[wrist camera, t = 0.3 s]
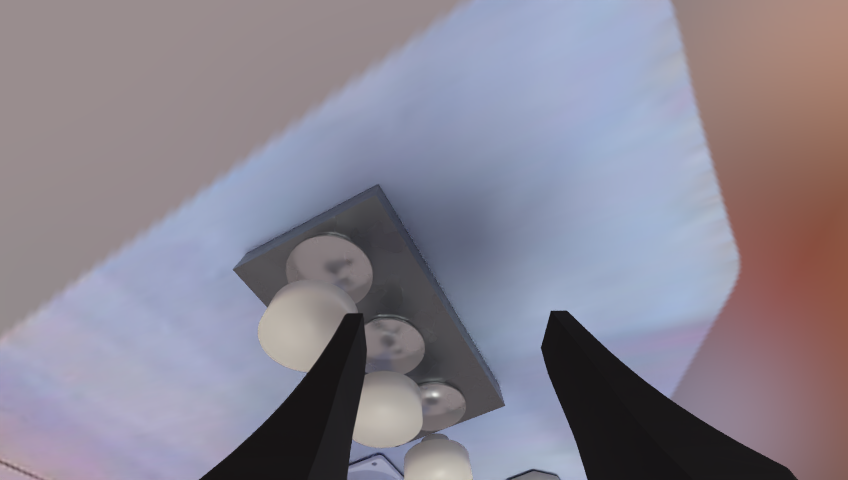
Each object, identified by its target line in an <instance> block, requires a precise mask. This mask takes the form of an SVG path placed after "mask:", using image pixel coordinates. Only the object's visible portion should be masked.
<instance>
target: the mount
mask: <svg viewBox="0 0 848 480" xmlns="http://www.w3.org/2000/svg"><path fill="white" fill-rule="evenodd" d="M233 270H234V271H235V273H236V274H237V275H238V276H239V277H240V278H241V279H242V280H243V281H244V282H245V283H246V285H247V286H248V287H249V288H250V289H251V290H252V291H253V292H254V293H255V294H256V296H257V297H258V298H259V299H260V300H261V301H262V302H263V303H264V304H265V305H266V306H267V308H268V306H269V304H270V303H271V301H272V299H273V297H274V296H275V294H276V293H277V292H278V291H279V290H280V289H281V288H283V287H284V286H286V285H287V284H290V283H292V282H295V281H299V280H307V279H313V280H321V281H325V282H329V283H331V284H334V285H336V286H337V287H339V288H341V289H342V290H344V291H345V292H346V293H347V294H348V295H349V296H350V297H351V298H352V300H353V301H354V303H355V305H356V307H357V310H358V313H363V317H364V326H365V336H366V345H367V357H366V368H365V375H366V374H369V373H372V372H377V371H381V370H390V371H394V372H397V373H400V374H403V375H405V376H407V377H409V378H411V379H412V380H413V381H414V382H415V383H416V384H417V385H418V387H419V388H420V391H421V397H422V417H423V424H422V427H421V430H420V431H419V433H418V434H417V435H416V436H415V437H414V438H413V439H412V440H410V441H408V442H411V441H413V440H416V439H419V438H421V437H424V436H427V435H429V434H432V433H435V432H437V431H440V430H442V429H445V428H448V427H450V426H453V425H456V424H458V423H461V422H464V421H466V420H469V419H471V418H474V417H477V416H479V415H482V414H485V413H487V412H490V411H493V410H495V409H498V408H500V407H503V406H505V404H504V400H503V397H502V394H501V390H500V387H499V384H498V383H497V381H496V379H495V378H494V376H493V374H492V373H491V371H490V369H489V368H488V366H487V364H486V363H485V361H484V359H483V358H482V356H481V354H480V353H479V351H478V349H477V348H476V346H475V344H474V343H473V341H472V339H471V338H470V336H469V334H468V333H467V331H466V329H465V328H464V326H463V324H462V323H461V321H460V319H459V318H458V316H457V314H456V313H455V311H454V309H453V308H452V306H451V304H450V303H449V301H448V299H447V298H446V296H445V295H444V293H443V291H442V290H441V288H440V286H439V285H438V283H437V281H436V280H435V278H434V276H433V275H432V273H431V271H430V270H429V268H428V266H427V265H426V263H425V261H424V260H423V258H422V256H421V255H420V253H419V251H418V250H417V248H416V246H415V245H414V243H413V241H412V240H411V238H410V236H409V235H408V233H407V231H406V230H405V228H404V226H403V225H402V223H401V221H400V220H399V218H398V216H397V215H396V213H395V211H394V210H393V208H392V206H391V205H390V203H389V201H388V200H387V198H386V196H385V195H384V193H383V191H382V190H381V188H380V186H379V185H376V186H374V187H372V188H370V189H368V190H366V191H364V192H362V193H361V194H359V195H357V196H355V197H353V198H351V199H349V200H347V201H345V202H344V203H342V204H340V205H338V206H336V207H334V208H332V209H330V210H328V211H326V212H325V213H323V214H321V215H319V216H317V217H315V218H313V219H311V220H309V221H308V222H306V223H304V224H302V225H300V226H298V227H296V228H294V229H292V230H290V231H289V232H287V233H285V234H283V235H281V236H279V237H277V238H275V239H273V240H272V241H270V242H268V243H266V244H264V245H262V246H260V247H258V248H256V249H254V250H253V251H251V252H249V253H247V254H246V255H245V256H244V257H243V258H242V259H241V261H240V262H239V263H238V264H237V265H236V266H235V268H234V269H233ZM408 442H407V443H408ZM404 444H406V443H404ZM402 445H403V444H402ZM399 446H400V445H399ZM395 447H398V446H395Z"/></svg>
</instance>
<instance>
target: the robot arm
mask: <svg viewBox="0 0 848 480" xmlns="http://www.w3.org/2000/svg"><path fill="white" fill-rule="evenodd" d="M541 350H542V353H543V357H544V361H545V365H546V368H547V371H548V374H549V377H550V380H551V382H552V384H553V387H554V389H555V392H556V394H557V397H558V399H559V401H560V404H561V406H562V408H563V411H564V413H565V416H566V418H567V420H568V423H569V425H570V428H571V430H572V433H573V435H574V438H575V441H576V443H577V447H578V450H579V453H580V456H581V459H582V463H583V466H584V469H585V472H586V476H587V479H588V480H798V479H797V478H796V477H795V476H794V475H793V473H792V472H791V471H790V470H789V469H788V468H787V467H785V466H783V465H781V464H779V463H777V462H775V461H773V460H771V459H769V458H768V457H766V456H764V455H762V454H760V453H758V452H756V451H754V450H752V449H750V448H748V447H746V446H744V445H743V444H741V443H739V442H737V441H736V440H734V439H732V438H731V437H729V436H727V435H725V434H724V433H722V432H720V431H718V430H716V429H715V428H713V427H712V426H710V425H708V424H707V423H705V422H704V421H702V420H700V419H699V418H697V417H696V416H694V415H693V414H691V413H689V412H688V411H686V410H685V409H683V408H682V407H680V406H679V405H677V404H676V403H674V402H673V401H672V400H670V399H669V398H667V397H666V396H664V395H663V394H662V393H660V392H659V391H658V390H656V389H655V388H654V387H652V386H651V385H650V384H648V383H647V382H646V381H644V380H643V379H642V378H641V377H639V376H638V375H637V374H636V373H634V372H633V371H632V370H631V369H630V368H628V367H627V366H626V365H625V364H624V363H622V362H621V361H620V360H619V359H618V358H617V357H616V356H614V355H613V354H612V353H611V352H610V351H609V350H608V349H607V348H606V347H604V346H603V345H602V344H601V343H600V342H599V341H598V340H597V339H596V338H595V337H594V336H593V335H592V334H591V333H590V332H589V331H587V330H586V329H585V328H584V327H583V326H582V325H581V324H580V323H579V322H578V321H577V320H576V319H575V318H574V317H573V316H572V315H571V314H570V313H569V312H568V311H551V313H550V317H549V320H548V324H547V328H546V331H545V335H544V339H543V342H542V346H541ZM366 357H367V345H366V336H365V326H364V317H363V313H347V314H346V315H344V317H343V319H342V321H341V323H340V325H339V326H338V328H337V330H336V332H335V333H334V335H333V337H332V338H331V340H330V341H329V343H328V345H327V346H326V348H325V349H324V351H323V352H322V354H321V355H320V357H319V358H318V360H317V361H316V362H315V364H314V365H313V366H312V368H311V369H310V370H309V372H308V373H307V374H306V376H305V377H304V378H303V380H302V381H301V382H300V383H299V385H298V386H297V387H296V388H295V390H294V391H293V392H292V393H291V394H290V395H289V397H288V398H287V399H286V400H285V401H284V402H283V403H282V404H281V405H280V407H279V408H278V409H277V410H276V411H275V412H274V413H273V414H272V415H271V416H270V417H269V418H268V419H267V420H266V421H265V422H264V423H263V424H262V425H261V426H260V427H259V428H258V429H257V430H256V431H255V432H254V433H253V434H252V435H251V436H250V437H248V438H247V439H246V440H245V441H244V442H243V443H242V444H241V445H240V446H239V447H238V448H237V449H235V450H234V451H233V452H232V453H231V454H230V455H229V456H227V457H226V458H225V459H224V460H223V461H221V462H220V463H219V464H218V465H216V466H215V467H214V468H213V469H212V470H210V471H209V472H208V473H207V474H205V475H204V476H203V477H202V478H201V479H199V480H404V477H403V476H402V475H401V474H400V473H399V472H398V471H397V470H396V469H395V468H394V467H393V466H392V465H391V464H390V463H389V462H388V461H387V460H386V459H385V458H384V457H383V456H382V455H377V456H374V457H371V458H369V459H366V460H363V461H361V462H358V463H356V464H353V465H350V466H349V458H350V449H351V443H352V437H353V432H354V427H355V422H356V417H357V412H358V407H359V402H360V397H361V393H362V388H363V383H364V377H365V368H366Z"/></svg>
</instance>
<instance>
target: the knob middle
mask: <svg viewBox="0 0 848 480" xmlns="http://www.w3.org/2000/svg"><path fill="white" fill-rule="evenodd" d="M422 424H423V417H422V397H421V391H420V388H419V387H418V385H417V384H416V383H415V382H414V381H413V380H412V379H411V378H409V377H407V376H405V375H403V374H400V373H397V372H394V371H390V370H381V371H377V372H372V373H369V374H366V375H365V377H364V383H363V388H362V393H361V397H360V402H359V407H358V412H357V417H356V422H355V427H354V432H353V437H352V439H353V440H354V441H356V442H358V443H360V444H362V445H365V446H369V447H374V448H390V447H395V446H399V445H402V444H404V443H407V442H408V441H410V440H412V439H413V438H414V437H415V436H416V435H417V434H418V433H419V431H420V430H421V427H422Z"/></svg>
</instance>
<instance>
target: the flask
mask: <svg viewBox="0 0 848 480" xmlns="http://www.w3.org/2000/svg"><path fill="white" fill-rule="evenodd" d="M511 480H560V479H559V478H558V476H554V475H550V474H545V473H540V472H536V471H532V472H530V473H527V474H524V475H522V476H519V477H516V478H514V479H511Z"/></svg>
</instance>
